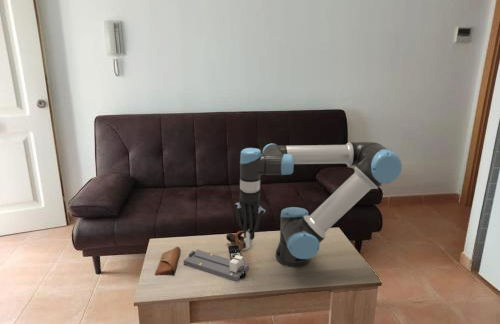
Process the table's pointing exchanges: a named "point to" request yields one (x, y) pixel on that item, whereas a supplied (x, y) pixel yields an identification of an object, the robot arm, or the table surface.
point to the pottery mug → (237, 239)
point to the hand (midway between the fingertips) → (249, 245)
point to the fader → (236, 263)
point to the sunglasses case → (168, 262)
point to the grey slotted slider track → (214, 264)
